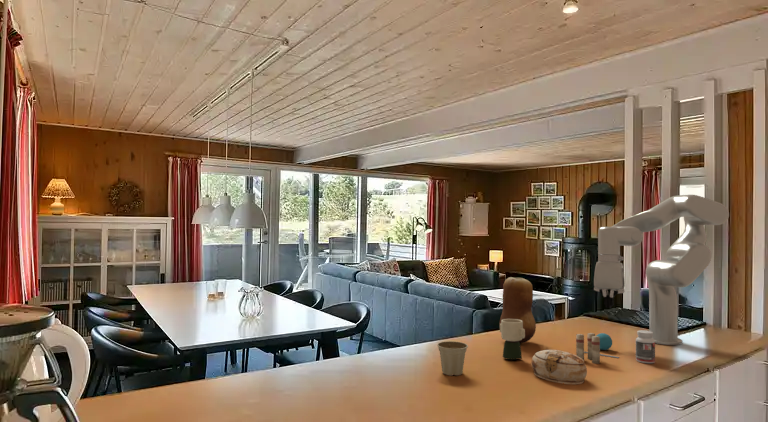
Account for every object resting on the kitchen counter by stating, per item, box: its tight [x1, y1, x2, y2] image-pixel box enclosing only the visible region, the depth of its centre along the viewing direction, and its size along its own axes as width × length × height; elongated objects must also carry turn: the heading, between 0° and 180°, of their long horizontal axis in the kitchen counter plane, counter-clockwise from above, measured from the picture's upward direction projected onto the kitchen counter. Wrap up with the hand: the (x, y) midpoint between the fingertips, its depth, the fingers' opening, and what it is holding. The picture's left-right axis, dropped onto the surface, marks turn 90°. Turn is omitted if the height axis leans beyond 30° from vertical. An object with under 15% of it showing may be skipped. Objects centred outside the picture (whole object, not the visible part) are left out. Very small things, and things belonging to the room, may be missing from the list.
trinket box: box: [531, 349, 588, 385], centre depth 146 cm, size 13×15×8 cm
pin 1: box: [575, 333, 585, 361], centre depth 164 cm, size 2×2×8 cm
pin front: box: [586, 332, 596, 361], centre depth 166 cm, size 2×2×8 cm
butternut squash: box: [498, 276, 537, 345], centre depth 189 cm, size 14×13×25 cm
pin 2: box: [591, 335, 601, 365], centre depth 161 cm, size 2×2×8 cm
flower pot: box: [436, 340, 469, 377], centre depth 150 cm, size 9×9×9 cm
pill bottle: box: [635, 329, 656, 364], centre depth 163 cm, size 6×6×10 cm
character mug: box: [499, 319, 525, 361], centre depth 166 cm, size 11×7×13 cm, turn 32°
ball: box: [595, 332, 613, 351], centre depth 178 cm, size 6×6×6 cm
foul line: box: [584, 351, 620, 359], centre depth 171 cm, size 1×14×1 cm, turn 52°
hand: (608, 307), depth 185 cm, fingers closed
